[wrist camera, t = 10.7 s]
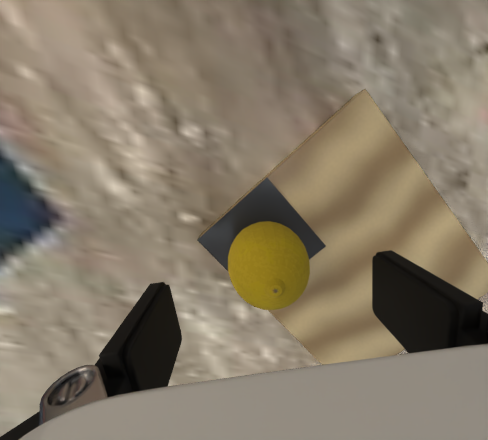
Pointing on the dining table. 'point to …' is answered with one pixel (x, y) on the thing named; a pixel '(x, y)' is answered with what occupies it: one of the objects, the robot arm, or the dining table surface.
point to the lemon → (268, 265)
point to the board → (353, 229)
